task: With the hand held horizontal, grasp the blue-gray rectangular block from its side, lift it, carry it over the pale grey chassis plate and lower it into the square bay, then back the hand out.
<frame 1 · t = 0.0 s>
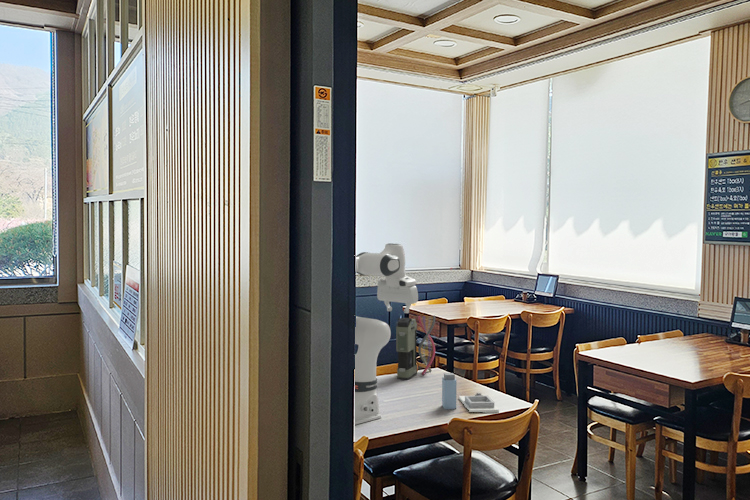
hand: (398, 311, 248), 39 cm above the table, tool pointing down, fingers open, 8 cm apart
device: (406, 376, 290), on the table
dna model: (426, 373, 296), on the table
chassis: (478, 405, 242), on the table
blue-gray rectangular block: (449, 407, 240), on the table
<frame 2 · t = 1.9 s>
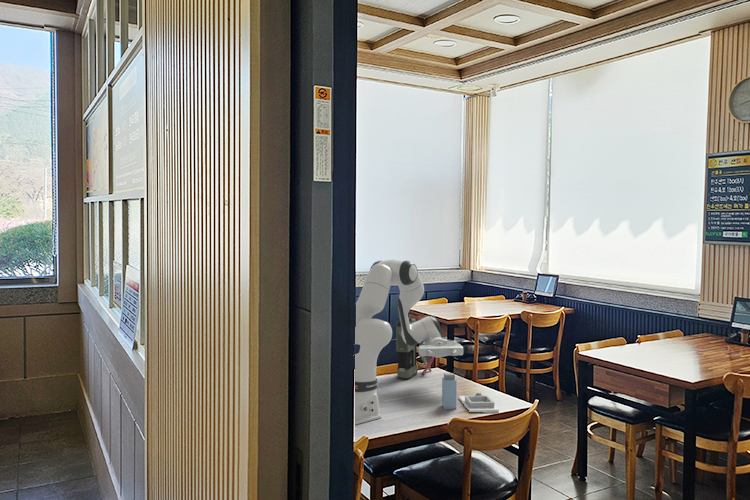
hand: (443, 354, 251), 20 cm above the table, tool horizontal, fingers open, 8 cm apart
nothing on the table moved.
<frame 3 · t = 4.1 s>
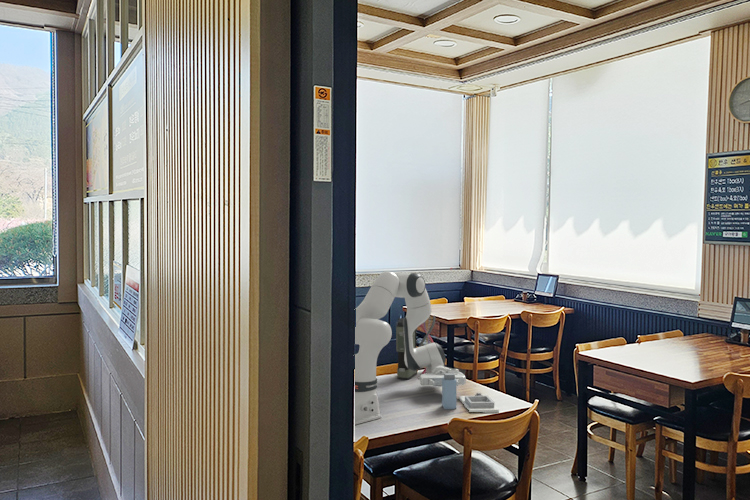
hand: (445, 384, 246), 8 cm above the table, tool horizontal, fingers open, 8 cm apart
nothing on the table moved.
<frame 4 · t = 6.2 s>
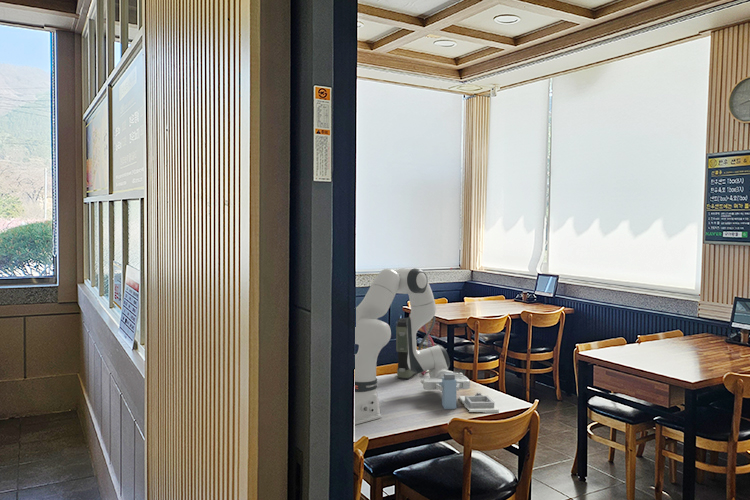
hand: (449, 388, 239), 8 cm above the table, tool horizontal, fingers closed on blue-gray rectangular block, 5 cm apart
blue-gray rectangular block: (449, 407, 240), on the table, touching gripper
everything else where it was.
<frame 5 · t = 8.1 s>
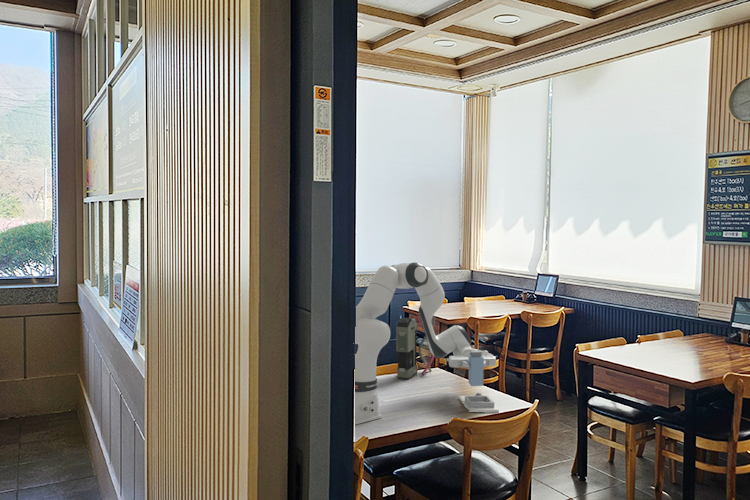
hand: (476, 365, 239), 17 cm above the table, tool horizontal, fingers closed on blue-gray rectangular block, 5 cm apart
blue-gray rectangular block: (475, 384, 241), point 9 cm above the table, touching gripper
everything else where it was.
when the fingers open (11 cm above the table, at t = 10.2 s): blue-gray rectangular block drops 1 cm, resting on chassis.
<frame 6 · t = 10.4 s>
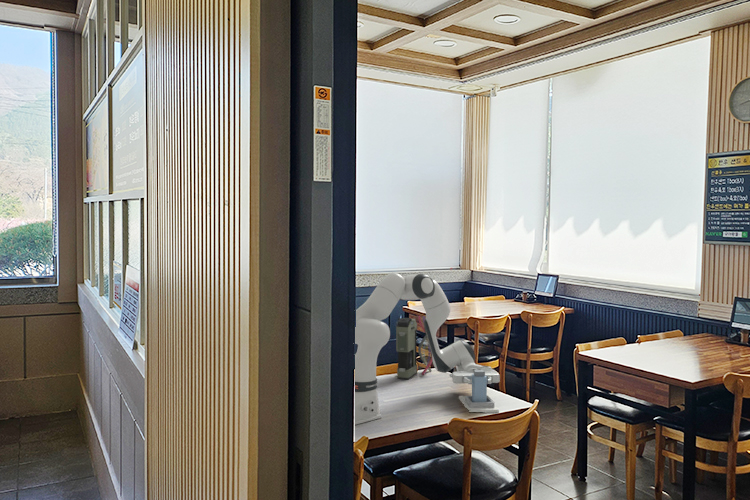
hand: (479, 382, 239), 11 cm above the table, tool horizontal, fingers open, 7 cm apart
blue-gray rectangular block: (479, 403, 240), point 1 cm above the table, touching chassis
everything else where it was.
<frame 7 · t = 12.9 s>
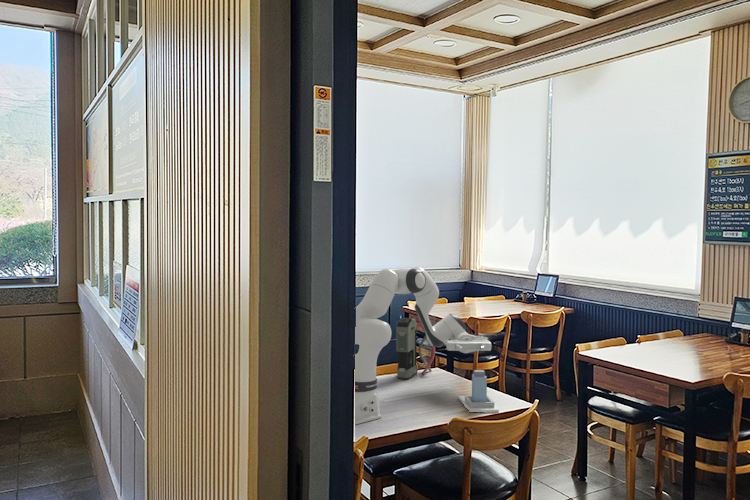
hand: (472, 349, 251), 22 cm above the table, tool horizontal, fingers open, 8 cm apart
nothing on the table moved.
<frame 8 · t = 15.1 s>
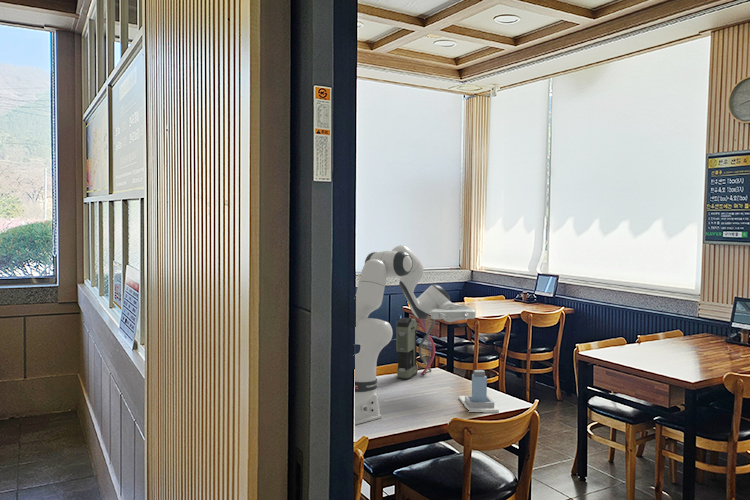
hand: (456, 316, 252), 36 cm above the table, tool horizontal, fingers open, 8 cm apart
nothing on the table moved.
at the end: blue-gray rectangular block 0.1 cm from the target spot on the chassis, point 1.2 cm above the chassis's base; blue-gray rectangular block tilted 0°; the gripper is holding nothing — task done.
